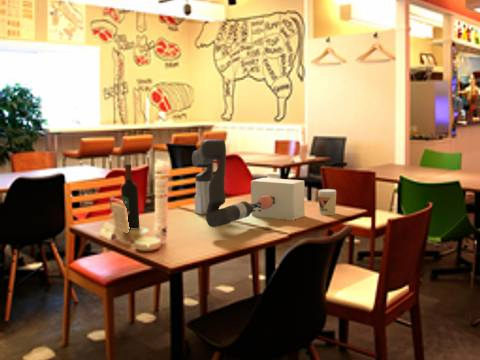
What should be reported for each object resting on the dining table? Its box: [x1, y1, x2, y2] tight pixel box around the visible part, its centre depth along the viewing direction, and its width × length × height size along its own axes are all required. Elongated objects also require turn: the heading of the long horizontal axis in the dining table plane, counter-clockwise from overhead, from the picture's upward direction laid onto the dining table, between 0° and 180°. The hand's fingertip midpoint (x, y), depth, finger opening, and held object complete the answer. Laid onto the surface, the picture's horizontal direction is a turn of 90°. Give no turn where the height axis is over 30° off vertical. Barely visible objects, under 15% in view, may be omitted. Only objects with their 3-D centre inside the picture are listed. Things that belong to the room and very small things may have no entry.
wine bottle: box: [120, 163, 140, 230], centre depth 261 cm, size 8×8×30 cm
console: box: [250, 177, 306, 221], centre depth 280 cm, size 12×24×18 cm, turn 56°
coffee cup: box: [317, 188, 337, 216], centre depth 283 cm, size 9×9×12 cm
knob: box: [257, 195, 275, 210], centre depth 272 cm, size 10×6×6 cm, turn 146°
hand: (259, 204), depth 266 cm, fingers closed
